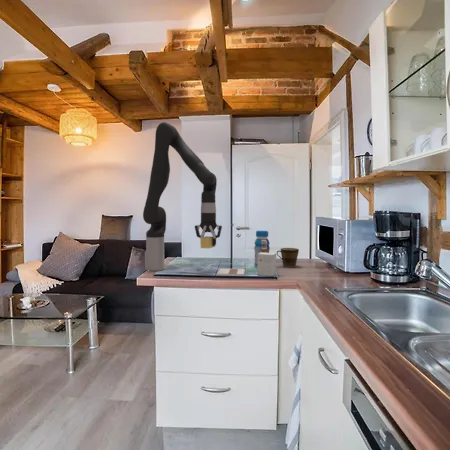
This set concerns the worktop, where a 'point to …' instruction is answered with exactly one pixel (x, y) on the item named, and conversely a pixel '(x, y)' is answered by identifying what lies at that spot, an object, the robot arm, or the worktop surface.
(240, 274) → the floor panel
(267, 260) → the small box
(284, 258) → the ceramic cup
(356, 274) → the worktop surface
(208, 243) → the block
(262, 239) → the teal labeled canister
